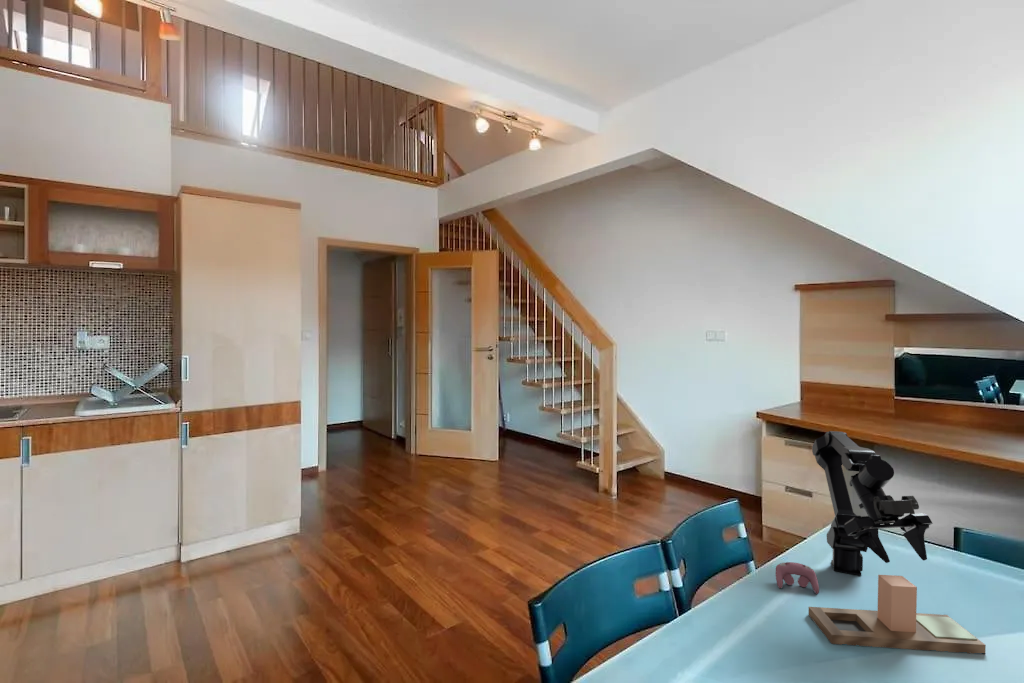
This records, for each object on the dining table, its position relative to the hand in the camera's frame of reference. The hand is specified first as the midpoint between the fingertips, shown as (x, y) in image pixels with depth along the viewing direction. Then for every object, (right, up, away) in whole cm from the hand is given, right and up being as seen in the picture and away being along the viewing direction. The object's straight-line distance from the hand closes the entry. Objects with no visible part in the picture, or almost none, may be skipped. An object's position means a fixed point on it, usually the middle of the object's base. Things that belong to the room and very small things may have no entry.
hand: (906, 561), depth 118 cm
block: (-6, -12, -5) cm, 14 cm away
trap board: (-6, -14, -5) cm, 16 cm away
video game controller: (-17, -14, +16) cm, 27 cm away
